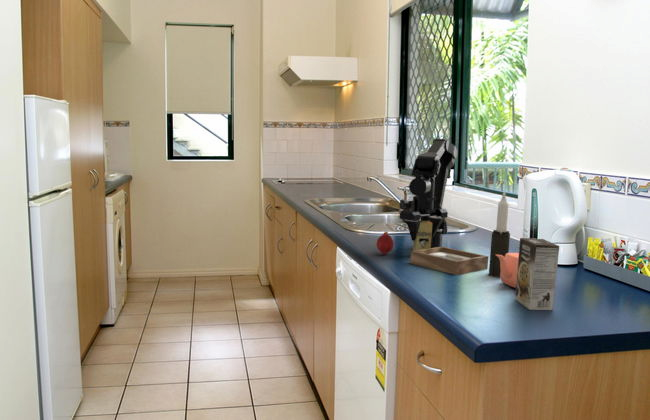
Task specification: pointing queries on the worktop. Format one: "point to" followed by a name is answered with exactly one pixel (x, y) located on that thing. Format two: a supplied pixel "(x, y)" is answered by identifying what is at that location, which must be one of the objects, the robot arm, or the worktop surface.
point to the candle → (499, 238)
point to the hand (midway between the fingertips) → (422, 239)
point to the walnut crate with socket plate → (449, 260)
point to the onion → (385, 243)
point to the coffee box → (536, 273)
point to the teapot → (509, 268)
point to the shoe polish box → (423, 236)
